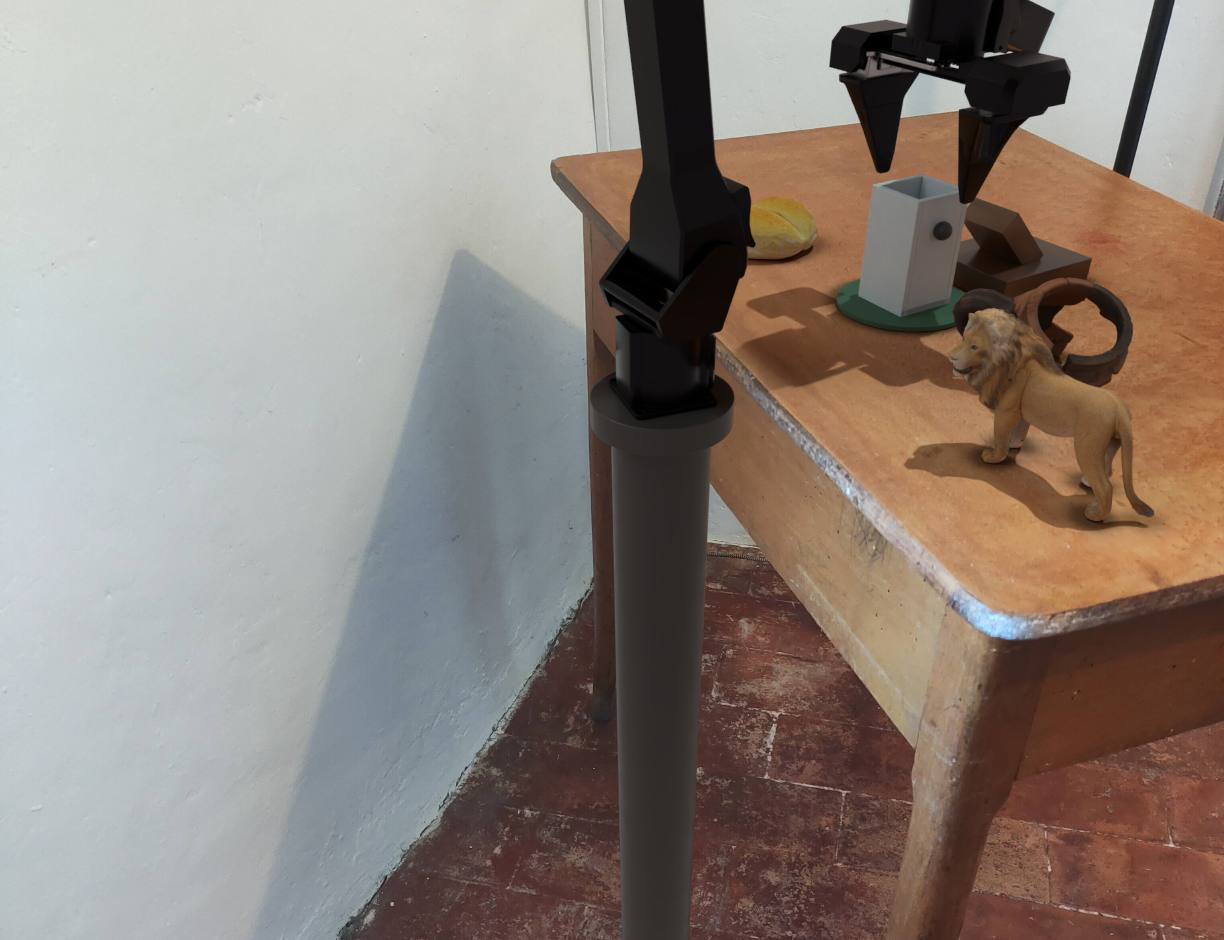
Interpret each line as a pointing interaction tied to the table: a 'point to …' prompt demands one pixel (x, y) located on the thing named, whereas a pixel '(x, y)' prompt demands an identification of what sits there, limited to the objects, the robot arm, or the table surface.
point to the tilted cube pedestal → (1010, 254)
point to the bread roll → (780, 228)
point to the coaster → (887, 320)
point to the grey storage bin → (911, 244)
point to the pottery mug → (1039, 315)
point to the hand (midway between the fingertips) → (923, 187)
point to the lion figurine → (1045, 403)
